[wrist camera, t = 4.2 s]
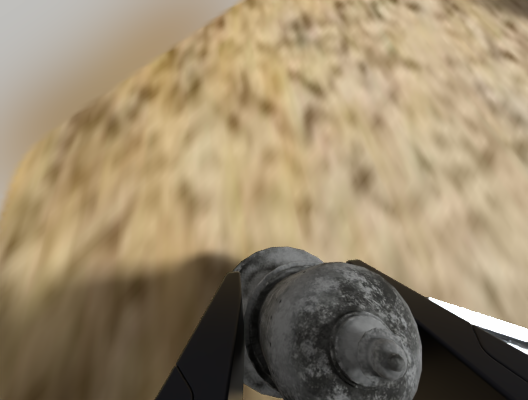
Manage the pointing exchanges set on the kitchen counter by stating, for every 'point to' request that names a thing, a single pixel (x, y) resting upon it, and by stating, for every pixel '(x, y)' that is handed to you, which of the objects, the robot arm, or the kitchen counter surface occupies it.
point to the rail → (492, 326)
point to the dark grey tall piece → (325, 330)
